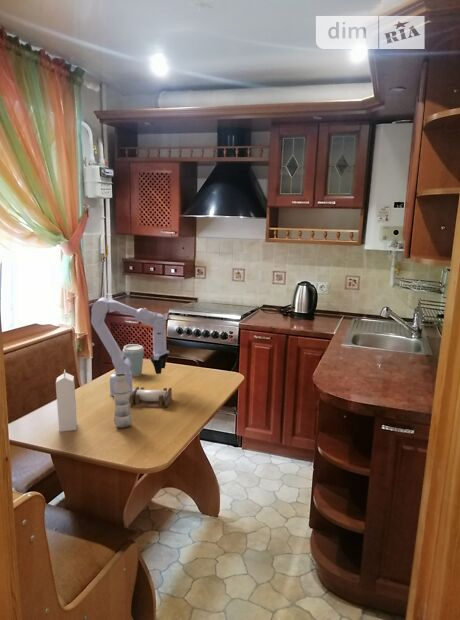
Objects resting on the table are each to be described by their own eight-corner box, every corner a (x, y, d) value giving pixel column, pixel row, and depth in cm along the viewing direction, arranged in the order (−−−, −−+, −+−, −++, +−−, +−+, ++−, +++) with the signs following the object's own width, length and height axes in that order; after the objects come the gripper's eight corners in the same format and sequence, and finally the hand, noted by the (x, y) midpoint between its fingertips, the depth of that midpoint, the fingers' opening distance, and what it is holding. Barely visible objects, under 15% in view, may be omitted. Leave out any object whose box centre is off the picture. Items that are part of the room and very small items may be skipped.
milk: (59, 432, 164) (54, 374, 160) (60, 425, 170) (55, 369, 166) (76, 430, 166) (72, 372, 161) (77, 423, 171) (73, 367, 167)
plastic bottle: (116, 431, 165) (114, 379, 161) (112, 424, 170) (110, 373, 167) (134, 427, 168) (132, 376, 164) (129, 420, 173) (127, 371, 170)
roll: (135, 402, 189) (135, 390, 189) (138, 399, 193) (139, 388, 193) (164, 403, 188) (164, 391, 188) (166, 400, 192) (166, 389, 192)
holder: (130, 406, 187) (130, 395, 186) (137, 397, 197) (137, 386, 196) (166, 408, 186) (166, 396, 185) (171, 398, 195) (171, 388, 194)
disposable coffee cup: (149, 372, 230) (148, 344, 227) (137, 379, 220) (136, 349, 217) (131, 370, 234) (130, 342, 231) (119, 376, 224) (118, 347, 221)
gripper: (164, 346, 192) (165, 376, 195) (171, 337, 206) (172, 366, 209) (148, 345, 193) (149, 375, 195) (156, 337, 207) (157, 365, 209)
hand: (160, 370), depth 202 cm, fingers open, 7 cm apart
